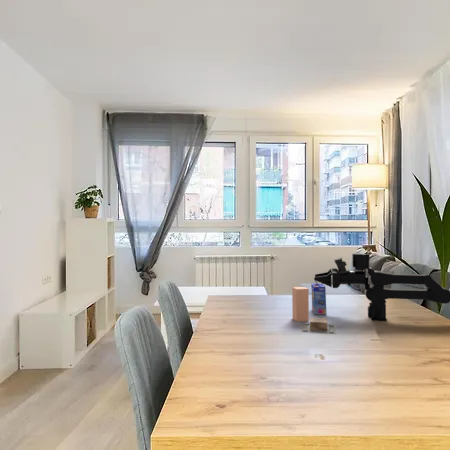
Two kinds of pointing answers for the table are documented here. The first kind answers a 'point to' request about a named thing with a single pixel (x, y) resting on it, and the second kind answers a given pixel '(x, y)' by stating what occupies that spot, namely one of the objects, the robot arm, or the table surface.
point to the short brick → (318, 324)
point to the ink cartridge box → (318, 298)
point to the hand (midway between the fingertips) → (314, 277)
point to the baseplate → (330, 330)
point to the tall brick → (300, 303)
